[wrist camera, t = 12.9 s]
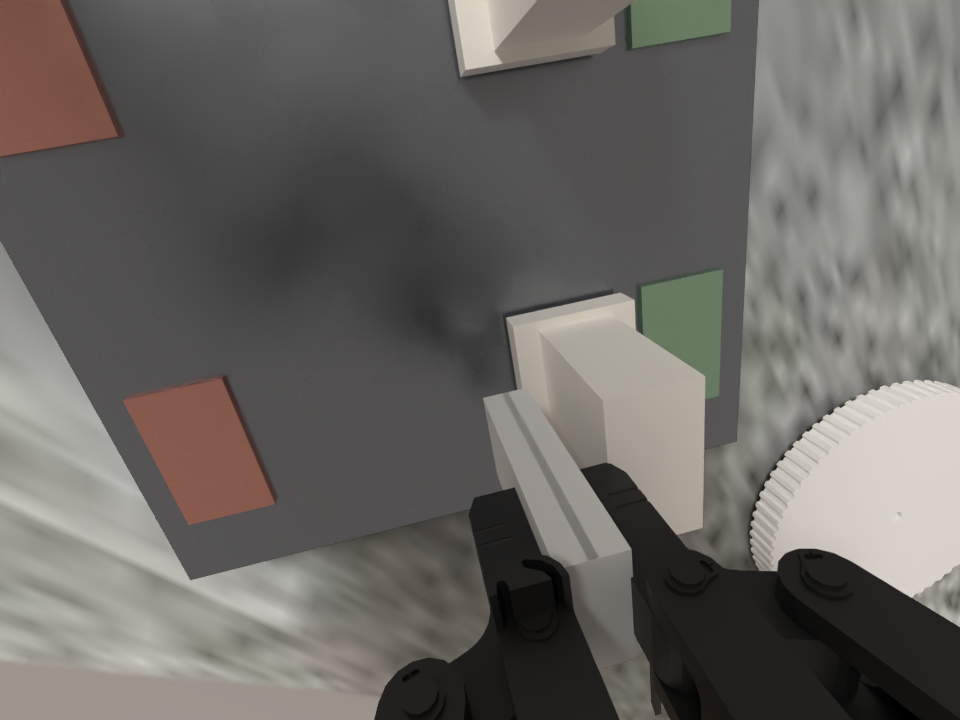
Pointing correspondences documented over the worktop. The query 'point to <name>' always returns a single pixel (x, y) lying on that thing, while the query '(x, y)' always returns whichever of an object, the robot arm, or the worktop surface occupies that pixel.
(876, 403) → the plastic lid
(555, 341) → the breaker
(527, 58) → the lever
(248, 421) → the breaker box
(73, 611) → the worktop surface
